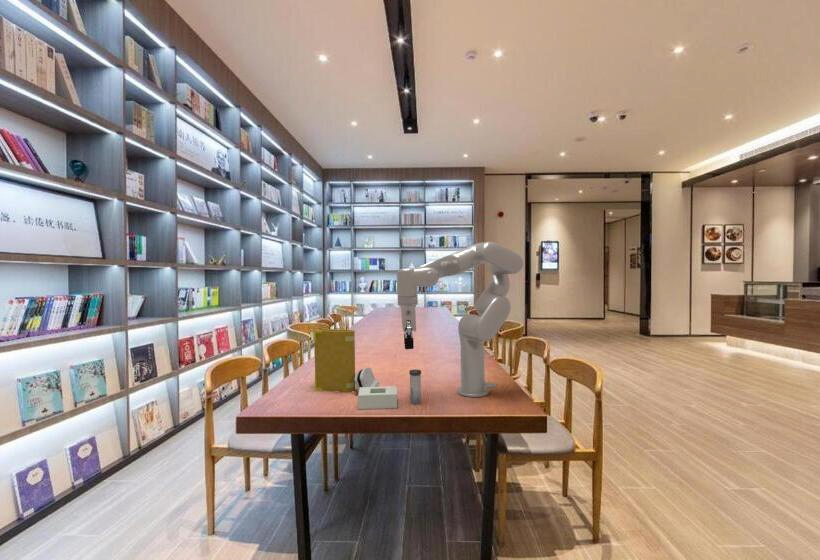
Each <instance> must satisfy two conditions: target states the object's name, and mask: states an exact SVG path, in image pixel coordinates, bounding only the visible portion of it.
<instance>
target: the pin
mask: <svg viewBox="0 0 820 560" xmlns="http://www.w3.org/2000/svg"><path fill="white" fill-rule="evenodd" d="M408 372H409V401H410V402H409V403H410V405H413V404H418V405H421V404H422V389H421V387H422V383H421V382H422V379H421V376H422V370H420V369H410V370H409V371H408ZM420 403H421V404H420Z"/></svg>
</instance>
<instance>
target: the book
mask: <svg viewBox="0 0 820 560" xmlns="http://www.w3.org/2000/svg"><path fill="white" fill-rule="evenodd" d="M355 333H356V332H355V329H340V328H339V329H338V328H336V329H335V328H320V329H316V330H313V342H314V391H320V390H321V391H320V392H322V391H323V390H326V392H333V391H339V392H338V393H343V392H350V393H353V392H352V391H354V392H356V384H355V376H356V346H355V345H356V339H355V338H356V337H355Z"/></svg>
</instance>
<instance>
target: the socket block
mask: <svg viewBox="0 0 820 560" xmlns="http://www.w3.org/2000/svg"><path fill="white" fill-rule="evenodd" d="M357 402H358V403H357V410H378V409H379V410H381V409H384V410H385V409H386V408H387V409H398V390H397V386H395V385H393V386H387V385H386V386H379V387H360V389H359V393H358V394H357Z"/></svg>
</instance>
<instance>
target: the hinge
mask: <svg viewBox="0 0 820 560" xmlns="http://www.w3.org/2000/svg"><path fill="white" fill-rule="evenodd" d="M379 384H380V381H379V380H377V379H376V377H375V375H374V372H373V370H372V368H371V367H364V368H362V369H360V370H358V371H357V372H355V388H356V390H357V393H358V394H359V389H360V387H378V386H379V387H380V385H379Z"/></svg>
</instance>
